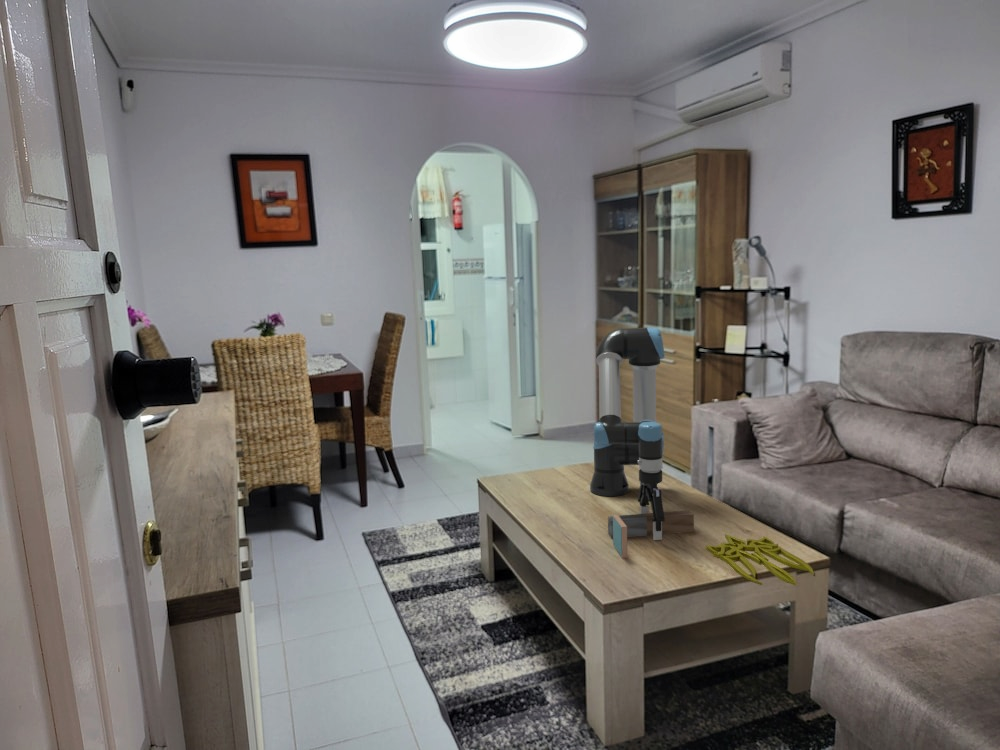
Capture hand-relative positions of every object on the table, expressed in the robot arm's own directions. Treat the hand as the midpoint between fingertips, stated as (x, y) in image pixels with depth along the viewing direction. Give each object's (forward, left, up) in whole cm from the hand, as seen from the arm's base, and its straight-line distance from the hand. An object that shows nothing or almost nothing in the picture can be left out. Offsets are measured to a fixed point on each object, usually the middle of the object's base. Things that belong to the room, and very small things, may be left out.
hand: (650, 532), depth 224 cm
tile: (+12, -14, 0) cm, 18 cm away
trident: (+26, +24, -1) cm, 35 cm away
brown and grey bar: (0, 0, 0) cm, 0 cm away
